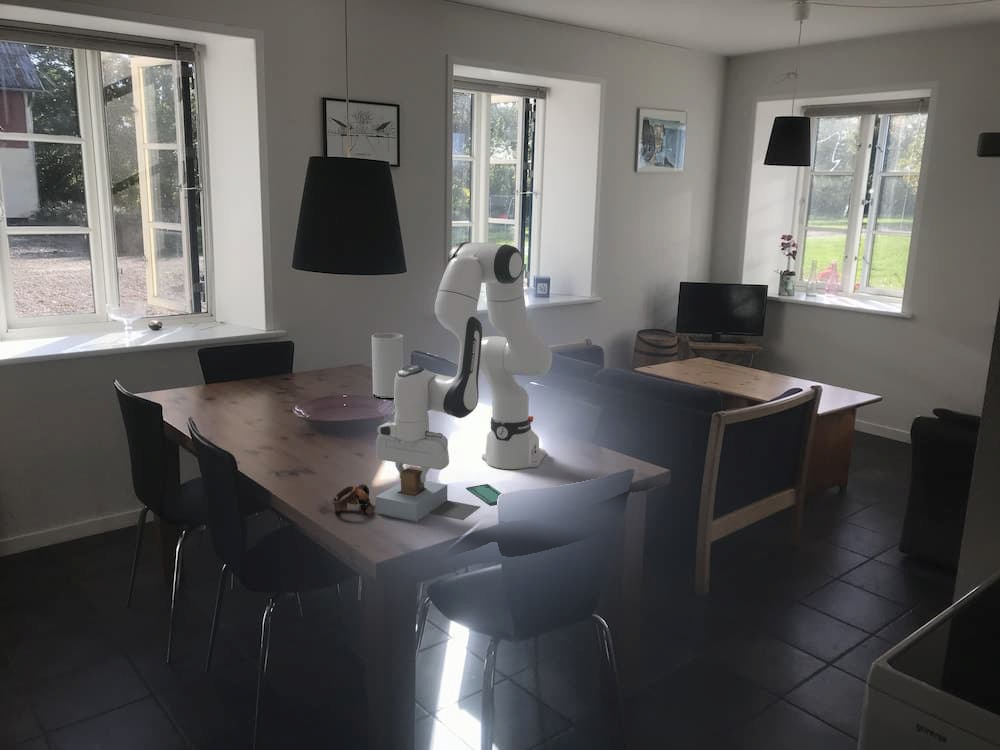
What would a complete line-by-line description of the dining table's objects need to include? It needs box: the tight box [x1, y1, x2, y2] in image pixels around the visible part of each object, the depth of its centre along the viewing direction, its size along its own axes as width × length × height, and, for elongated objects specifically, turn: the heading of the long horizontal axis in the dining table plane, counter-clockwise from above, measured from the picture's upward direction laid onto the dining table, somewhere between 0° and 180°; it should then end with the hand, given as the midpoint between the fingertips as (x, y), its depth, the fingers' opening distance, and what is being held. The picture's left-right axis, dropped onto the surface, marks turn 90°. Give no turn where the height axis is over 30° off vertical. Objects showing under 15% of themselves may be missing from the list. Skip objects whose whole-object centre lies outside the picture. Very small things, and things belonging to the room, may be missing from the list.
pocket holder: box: [375, 480, 448, 522], centre depth 208 cm, size 16×12×5 cm
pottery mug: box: [331, 483, 374, 516], centre depth 206 cm, size 12×10×8 cm
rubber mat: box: [428, 499, 481, 521], centre depth 207 cm, size 10×10×1 cm
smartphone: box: [465, 483, 503, 507], centre depth 218 cm, size 7×1×15 cm
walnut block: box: [400, 465, 424, 496], centre depth 208 cm, size 5×4×9 cm
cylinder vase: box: [371, 332, 404, 397], centre depth 325 cm, size 12×12×25 cm
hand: (412, 480), depth 207 cm, fingers closed on walnut block, 4 cm apart
